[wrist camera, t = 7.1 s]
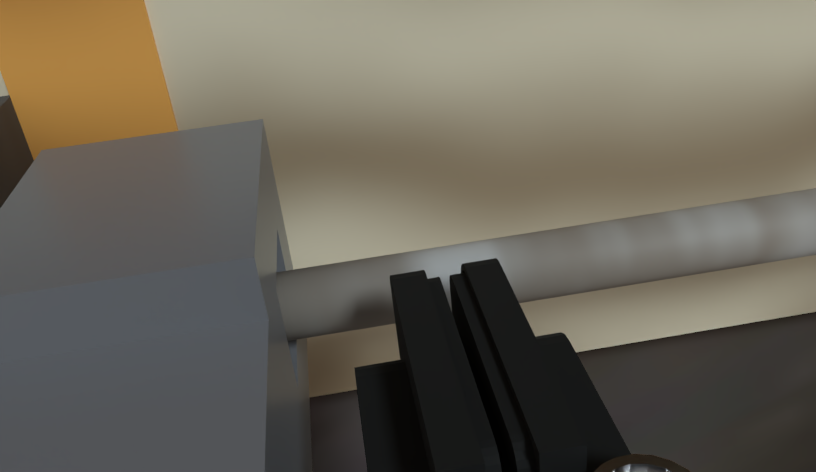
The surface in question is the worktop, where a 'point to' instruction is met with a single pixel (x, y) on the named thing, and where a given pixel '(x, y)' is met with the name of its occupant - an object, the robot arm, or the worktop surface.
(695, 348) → the worktop surface
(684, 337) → the worktop surface
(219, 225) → the sleeve
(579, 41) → the rail
